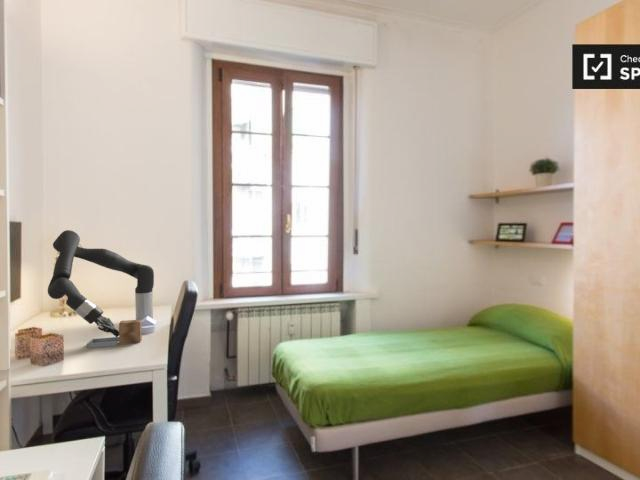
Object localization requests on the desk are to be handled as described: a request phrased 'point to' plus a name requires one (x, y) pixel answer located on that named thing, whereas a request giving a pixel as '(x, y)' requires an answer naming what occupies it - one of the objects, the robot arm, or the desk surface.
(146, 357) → the desk surface
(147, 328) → the wedge on round base
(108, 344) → the grey open-top box
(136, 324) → the walnut block
